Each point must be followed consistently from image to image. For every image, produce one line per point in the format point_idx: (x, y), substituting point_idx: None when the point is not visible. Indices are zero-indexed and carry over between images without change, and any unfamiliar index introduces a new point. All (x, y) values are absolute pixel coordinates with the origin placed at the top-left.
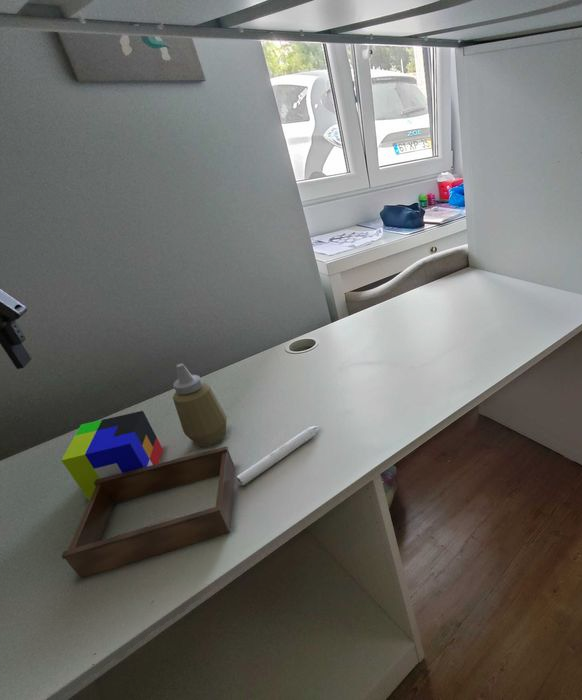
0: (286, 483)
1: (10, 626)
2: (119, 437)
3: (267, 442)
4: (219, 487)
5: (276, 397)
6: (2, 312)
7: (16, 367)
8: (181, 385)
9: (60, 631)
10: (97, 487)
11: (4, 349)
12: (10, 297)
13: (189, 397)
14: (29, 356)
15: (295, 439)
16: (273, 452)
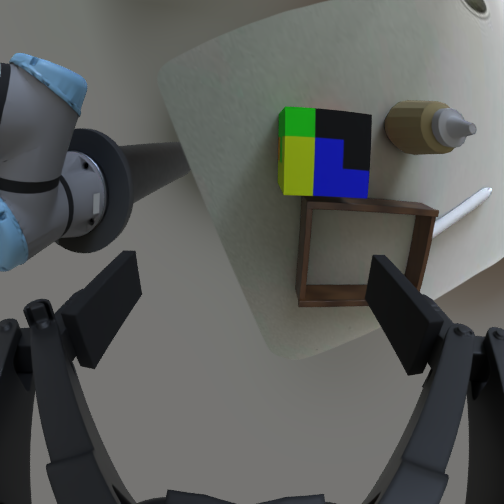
0: (451, 250)
1: (253, 311)
2: (351, 174)
3: (450, 176)
4: (422, 271)
5: (461, 91)
6: (468, 397)
7: (366, 300)
8: (449, 139)
9: (291, 328)
10: (309, 212)
11: (384, 330)
12: None
13: (443, 148)
14: (387, 259)
15: (476, 205)
16: (459, 216)
